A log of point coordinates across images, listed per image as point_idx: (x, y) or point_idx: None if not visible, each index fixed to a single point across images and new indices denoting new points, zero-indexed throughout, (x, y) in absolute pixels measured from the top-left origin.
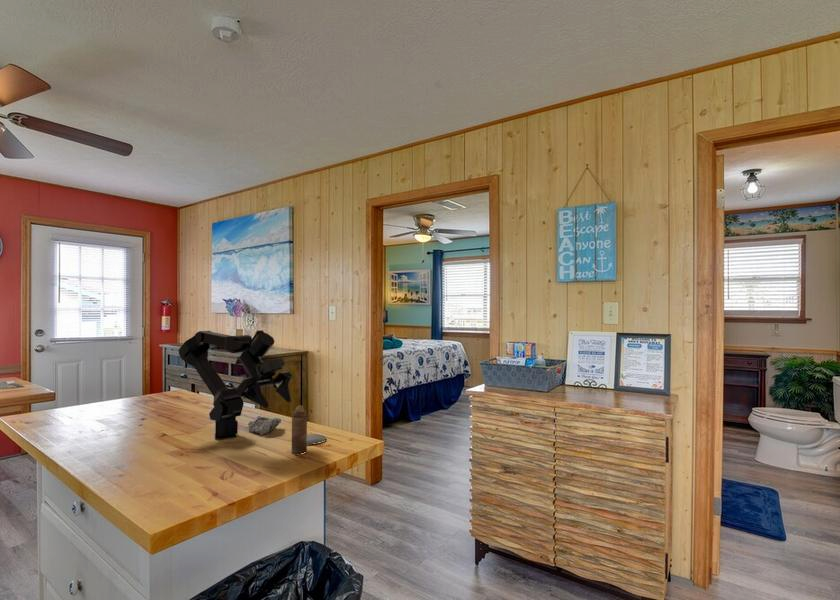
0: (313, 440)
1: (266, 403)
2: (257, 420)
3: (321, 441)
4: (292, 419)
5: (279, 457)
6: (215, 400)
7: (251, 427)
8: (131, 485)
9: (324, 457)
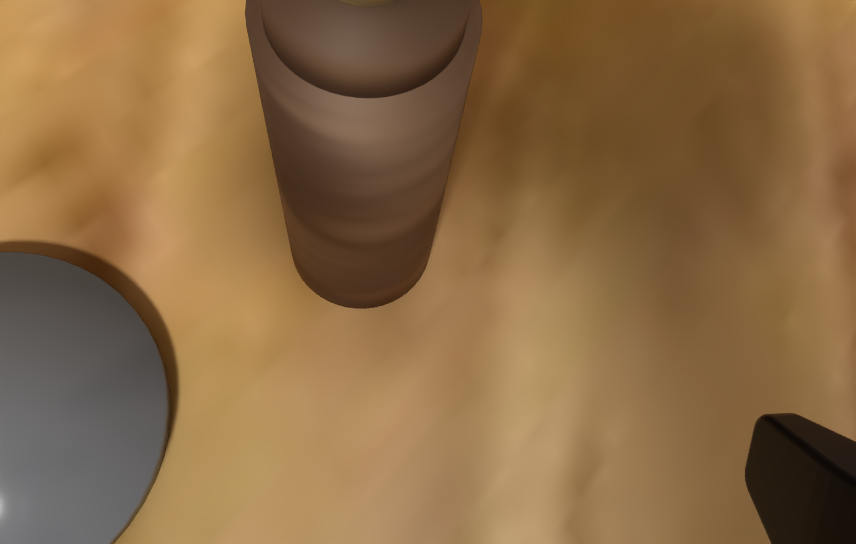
0: (22, 341)
1: (844, 441)
2: None
3: (10, 253)
4: (470, 73)
5: (551, 296)
6: None
7: None
8: None
9: None
